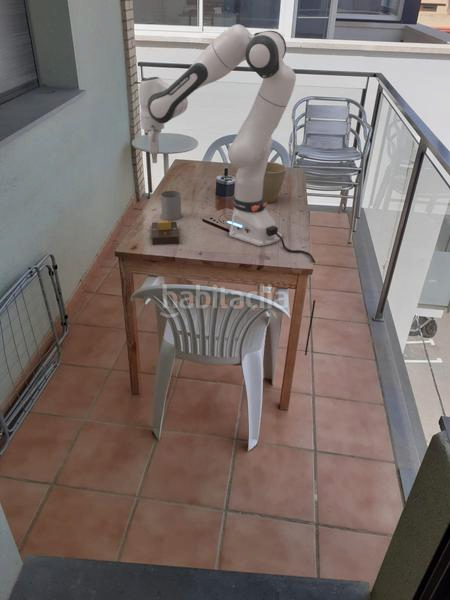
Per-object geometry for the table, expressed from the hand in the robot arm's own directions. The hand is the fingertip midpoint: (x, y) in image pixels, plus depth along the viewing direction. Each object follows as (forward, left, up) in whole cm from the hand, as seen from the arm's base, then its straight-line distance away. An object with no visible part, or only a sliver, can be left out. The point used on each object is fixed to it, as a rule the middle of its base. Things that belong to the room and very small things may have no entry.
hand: (154, 158), depth 189 cm
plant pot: (-17, -51, -25) cm, 59 cm away
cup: (-3, -5, -25) cm, 26 cm away
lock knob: (-17, +9, -22) cm, 29 cm away
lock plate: (-17, +9, -25) cm, 32 cm away
